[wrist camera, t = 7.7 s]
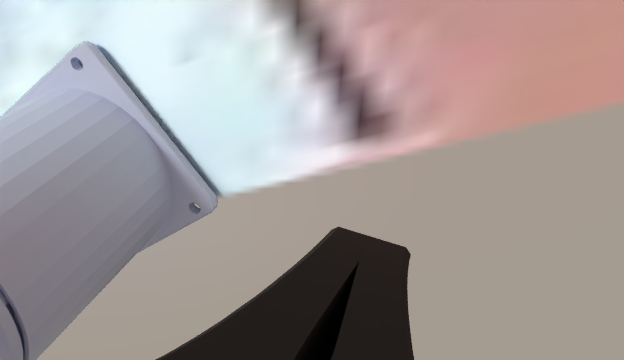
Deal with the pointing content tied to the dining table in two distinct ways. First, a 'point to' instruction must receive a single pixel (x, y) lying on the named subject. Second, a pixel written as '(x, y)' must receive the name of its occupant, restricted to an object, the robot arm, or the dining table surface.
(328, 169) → the dining table surface
